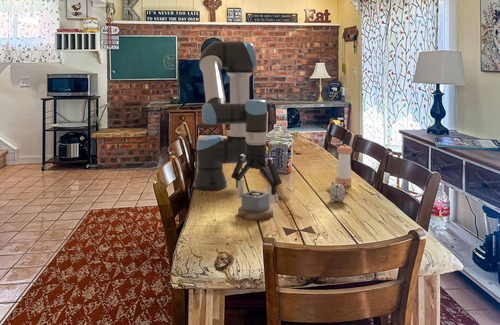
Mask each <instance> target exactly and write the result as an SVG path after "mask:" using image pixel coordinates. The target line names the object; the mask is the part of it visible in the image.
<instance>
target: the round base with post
mask: <svg viewBox="0 0 500 325" xmlns="http://www.w3.org/2000/svg"><path fill="white" fill-rule="evenodd" d="M252 196H257V197H258V196H260V194H259V193H252ZM237 210H238V211H237V216H238V217H239V218H241V219H242V220H244V221H253V222H255V221H256V222H257V221H258V222H259V221H267V220H270V219H272V218H273V216H274V208H273V207H272V206H270V209H268V210H266V211H264V212H262V213H260V214H256V213H251V212H246V211H242V206H240V207H238V209H237Z"/></svg>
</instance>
